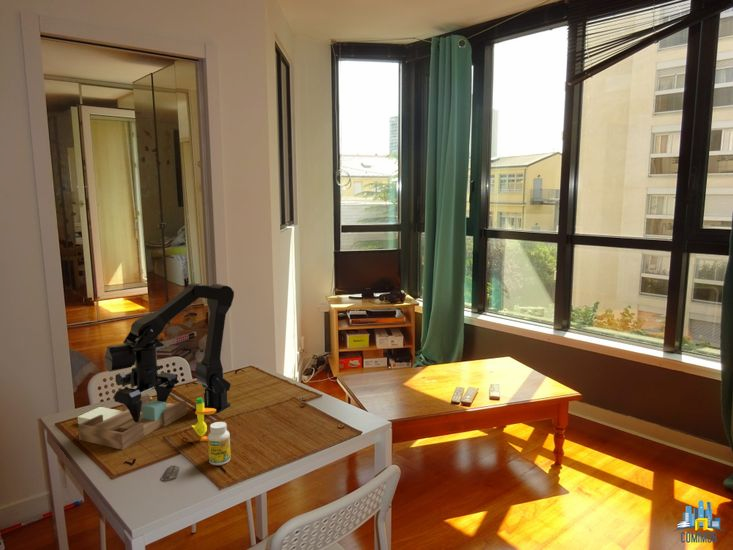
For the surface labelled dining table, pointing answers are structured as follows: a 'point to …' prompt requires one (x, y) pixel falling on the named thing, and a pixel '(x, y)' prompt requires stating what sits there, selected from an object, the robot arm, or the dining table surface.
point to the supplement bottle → (219, 444)
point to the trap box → (127, 426)
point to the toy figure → (202, 418)
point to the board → (96, 412)
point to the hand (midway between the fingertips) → (148, 415)
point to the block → (153, 410)
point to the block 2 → (170, 473)
